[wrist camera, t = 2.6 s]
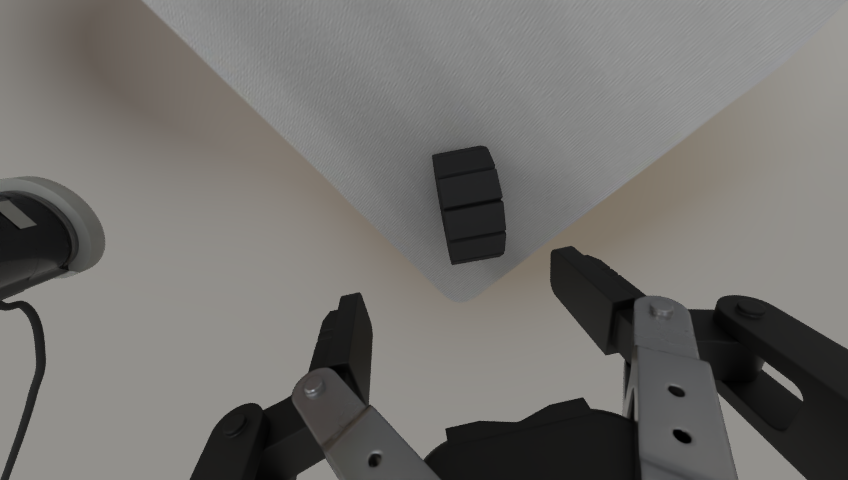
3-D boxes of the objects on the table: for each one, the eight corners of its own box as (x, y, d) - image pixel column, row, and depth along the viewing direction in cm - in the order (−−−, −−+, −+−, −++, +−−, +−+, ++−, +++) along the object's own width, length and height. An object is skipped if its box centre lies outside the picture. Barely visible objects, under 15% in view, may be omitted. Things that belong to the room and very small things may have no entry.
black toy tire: (474, 143, 31) (498, 148, 21) (485, 234, 34) (510, 274, 25) (430, 152, 31) (435, 161, 21) (446, 242, 34) (456, 284, 25)
